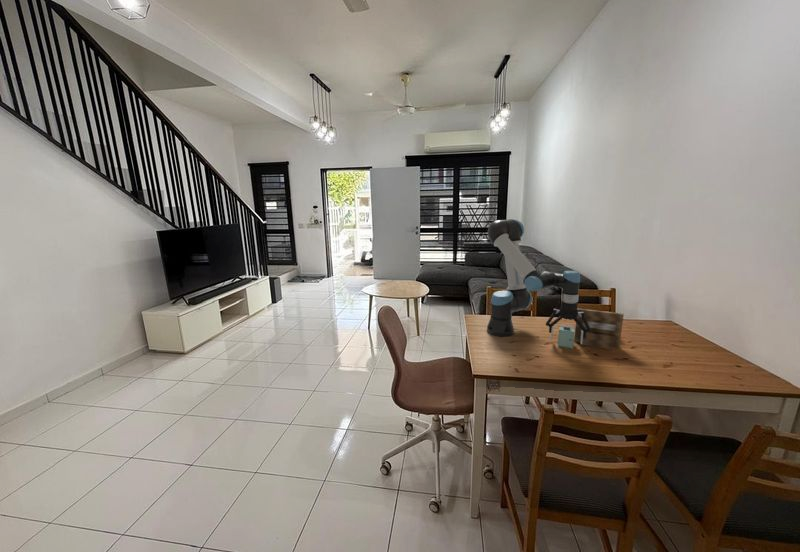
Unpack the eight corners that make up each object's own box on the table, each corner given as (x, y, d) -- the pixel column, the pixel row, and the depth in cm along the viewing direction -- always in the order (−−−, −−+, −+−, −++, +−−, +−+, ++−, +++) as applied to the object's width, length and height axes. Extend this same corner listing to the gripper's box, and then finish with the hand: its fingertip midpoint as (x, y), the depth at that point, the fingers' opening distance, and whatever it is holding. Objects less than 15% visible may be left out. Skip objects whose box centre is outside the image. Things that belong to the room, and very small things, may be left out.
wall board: (574, 343, 167) (577, 311, 163) (574, 337, 174) (577, 306, 170) (619, 350, 158) (624, 316, 154) (618, 344, 165) (622, 311, 161)
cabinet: (557, 346, 164) (559, 328, 162) (558, 340, 172) (560, 322, 169) (572, 349, 161) (574, 330, 159) (573, 342, 168) (574, 324, 166)
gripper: (541, 300, 163) (539, 339, 167) (598, 306, 151) (594, 348, 155) (543, 297, 169) (540, 334, 174) (598, 302, 157) (594, 342, 162)
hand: (566, 340), depth 164 cm, fingers open, 13 cm apart
